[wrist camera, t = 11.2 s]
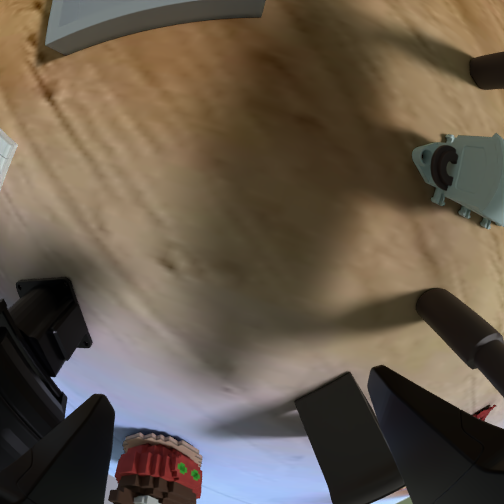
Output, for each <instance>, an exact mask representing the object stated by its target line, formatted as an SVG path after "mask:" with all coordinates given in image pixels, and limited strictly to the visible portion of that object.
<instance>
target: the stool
mask: <svg viewBox="0 0 504 504" xmlns="http://www.w3.org/2000/svg"><path fill="white" fill-rule="evenodd" d="M470 75H471V76H472V77H473V78H474V80H475V82H476V83H477V85H478V86H479V87H480V88H482V89H484V90H491V89H504V52H499V53H494V54H489V55H484V56H480V57H476V58H473V59H472V60H471V62H470ZM445 138H447V141H446V143H440V142H434V143H430V144H426V145H423V146H419V147H416V148H415V149H414V150H413V152H412V159H413V162H414V163H415V165H416V167H417V168H418V170H419V172H420V174H421V176H422V177H423V179H424V181H425V183H428V184H430V185H432V186H434V187H436V189H435V193H434V197H433V198H432V197H431V201H432V202H433V203H436V204H438V205H440V206H444V205H445V203H444V199H445V197H447V198H449V199H451V200H453V201H455V202H457V203H459V204H460V205H462V206H461V210H460V211H459V212H458V213H459V215H461V216H463V217H465V218H468V219H469V218H470V217H471V216H470V212H471V210H472V211H473V212H475V213H477V214H479V215H481V216H482V217H483V220H482V222H480V225H481V226H483V227H484V228H486V229H490V228H491V227H490V224H491V221H493V222H495V223H496V225H498V226H503V227H504V139H503V138H501V137H500V136H499V135H498V134H497V133H495V134H494V135H493V137H481V136H463V135H458V136H457V138H454V136H453V135H451V134H448V135H446V136H445ZM422 154H423V160H422V158H421V155H422ZM416 310H417V312H418V314H419V315H420V316H421V317H422V319H423V320H424V321H425V322H426V323H427V324H428V325H429V326H430V327H431V328H432V329H433V330H434V331H435V332H436V333H437V334H438V335H439V336H440V337H441V338H442V339H443V340H444V341H445V342H446V343H447V344H448V346H449V347H450V348H451V349H452V350H453V351H454V352H455V353H456V354H457V355H458V356H459V357H460V358H461V359H462V360H463V362H465V363H466V364H467V365H468V366H469V367H470V368H471V369H476V368H478V369H479V370H480V371H481V372H482V373H483V375H484V376H485V377H486V378H487V379H488V380H489V381H490V382H491V383H492V385H493V386H494V387H495V388H496V389H497V390H498V391H499V393H500V394H501V395H502V396H503V397H504V341H503V337H502V335H501V334H500V333H499V332H498V331H497V330H496V329H494V328H493V327H492V326H491V325H490V324H489V323H488V322H486V321H485V320H484V319H483V318H482V317H480V316H479V315H478V314H477V313H476V312H474V311H473V310H472V309H471V308H469V307H468V306H467V305H466V304H464V303H463V302H462V301H461V300H459V299H458V298H457V297H455V296H454V295H453V294H451V293H450V292H448V291H447V290H445V289H440V288H437V289H432V290H429V291H427V292H426V293H424V294H423V295H422V296H421V297H420V298H419V300H418V302H417V305H416Z"/></svg>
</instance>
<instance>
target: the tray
mask: <svg viewBox="0 0 504 504" xmlns="http://www.w3.org/2000/svg"><path fill="white" fill-rule="evenodd" d="M265 1H266V0H53V2H52V7H51V12H50V17H49V22H48V28H47V34H46V41H45V46H47V47H49V48H51V49H54V50H56V51H58V52H60V53H62V54H64V55H69V54H71V53H74V52H76V51H79V50H82V49H84V48H87V47H90V46H93V45H96V44H99V43H102V42H105V41H108V40H111V39H115V38H118V37H122V36H125V35H129V34H133V33H137V32H141V31H145V30H150V29H155V28H160V27H165V26H170V25H176V24H182V23H189V22H196V21H205V20H215V19H227V18H248V17H261V16H262V12H263V9H264V5H265Z"/></svg>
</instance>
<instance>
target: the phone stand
mask: <svg viewBox="0 0 504 504" xmlns="http://www.w3.org/2000/svg"><path fill="white" fill-rule="evenodd" d="M295 405H296V407H297V410H298V412H299V415H300V417H301V420H302V422H303V425H304V428H305V430H306V433H307V435H308V438H309V440H310V443H311V445H312V448H313V450H314V453H315V455H316V458H317V460H318V463H319V465H320V468H321V470H322V473H323V475H324V478H325V480H326V483H327V485H328V488H329V492H330V496H331V500H332V503H333V504H370V503H373V502H375V501H377V500H379V499H382V498H384V497H386V496H388V495H390V494H392V493H394V492H396V491H398V490H400V489H402V488H404V487H405V483H404V481H403V478H402V476H401V474H400V471H399V469H398V467H397V464H396V462H395V460H394V457H393V455H392V453H391V451H390V448H389V446H388V444H387V442H386V439H385V437H384V435H383V433H382V430H381V428H380V426H379V423H378V420H377V417H376V415H375V413H374V411H373V409H372V407H371V406H370V404H369V402H368V401H367V399H366V397H365V396H364V394H363V392H362V391H361V389H360V387H359V386H358V384H357V382H356V381H355V379H354V377H353V376H352V374H351V372H349V373H348V374H346V375H344V376H342V377H341V378H339V379H337V380H335V381H333V382H332V383H330V384H328V385H326V386H324V387H322V388H320V389H318V390H317V391H315V392H313V393H311V394H309V395H307V396H305V397H303V398H301V399H298V400H296V401H295Z"/></svg>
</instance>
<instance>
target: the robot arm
mask: <svg viewBox="0 0 504 504" xmlns="http://www.w3.org/2000/svg"><path fill="white" fill-rule="evenodd" d="M64 282H65V283H66V284H67V286H66V285H65V283H64ZM16 288H17V291H18V294H19V297H20V299H19V300H18V301H17V302H16V303H15V304H14V305H13V306H12V307H10V308H9V309H7V305H6V303H5V301H4V299H1V300H0V504H104V498H105V490H106V483H107V476H108V471H109V465H110V459H111V453H112V445H113V431H114V420H115V411H114V409H113V407H112V405H111V404H110V402H109V400H108V399H107V397H106V396H105V395H103V394H93V395H92V396H91V397H90V398H89V399H87V400H86V401H85V402H84V403H83V404H82V405H80V406H79V407H78V408H77V409H76V410H75V411H73V412H72V413H71V414H70V415H69V416H68V417H67V418H65V410H66V403H67V396H66V395H65V394H64V393H63V392H61V390H60V389H59V388H58V387H57V385H56V384H55V383H54V381H53V380H52V379H51V377H56V375H57V373H58V372H59V370H60V369H61V367H62V365H63V364H64V362H65V361H68V360H69V359H70V357H71V356H72V354H73V352H74V351H75V349H76V348H90V347H91V345H92V339H91V337H90V334H89V332H88V328H87V326H86V323H85V321H84V318H83V315H82V312H81V309H80V306H79V304H78V301H77V298H76V295H75V292H74V289H73V286H72V283H71V280H70V279H69V278H67V277H59V278H45V279H30V280H20V281H18V282H17V283H16ZM367 386H368V392H369V395H370V398H371V401H372V404H373V407H374V410H375V413H376V417H377V420H378V423H379V426H380V428H381V430H382V433H383V435H384V437H385V439H386V442H387V444H388V446H389V448H390V451H391V453H392V455H393V457H394V460H395V462H396V464H397V467H398V469H399V471H400V474H401V476H402V478H403V481H404V483H405V486H406V488H407V490H408V493H409V495H410V498H411V500H412V502H413V504H504V429H502V428H500V427H497V426H494V425H492V424H489V423H487V422H485V421H482V420H480V419H478V418H476V417H474V416H472V415H470V414H468V413H467V412H465V411H463V410H460V409H459V408H457V407H456V406H454V405H452V404H450V403H448V402H447V401H445V400H443V399H441V398H439V397H438V396H436V395H434V394H432V393H431V392H429V391H427V390H425V389H424V388H422V387H420V386H419V385H417V384H415V383H413V382H412V381H410V380H408V379H406V378H405V377H403V376H401V375H400V374H398V373H396V372H395V371H393V370H391V369H389V368H388V367H386V366H384V365H379V366H376V367H373V368H372V369H371V371H370V375H369V380H368V385H367ZM64 418H65V419H64Z"/></svg>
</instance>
